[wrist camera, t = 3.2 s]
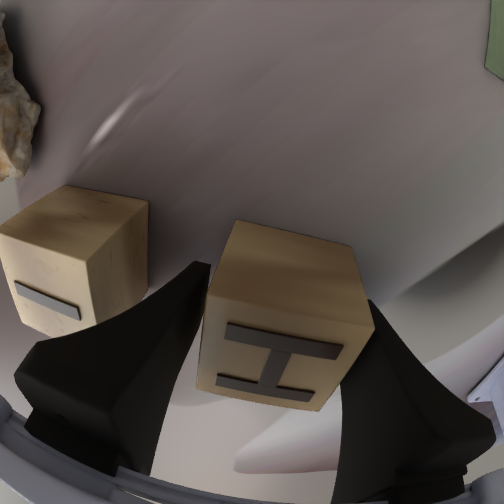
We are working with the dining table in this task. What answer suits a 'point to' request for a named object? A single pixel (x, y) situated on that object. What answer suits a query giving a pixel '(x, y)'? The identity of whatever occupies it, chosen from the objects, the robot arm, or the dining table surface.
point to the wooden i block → (76, 258)
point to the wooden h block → (282, 319)
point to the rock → (14, 117)
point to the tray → (496, 40)
